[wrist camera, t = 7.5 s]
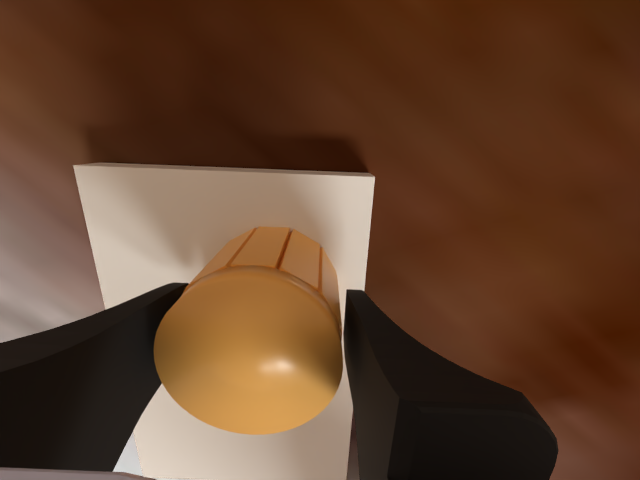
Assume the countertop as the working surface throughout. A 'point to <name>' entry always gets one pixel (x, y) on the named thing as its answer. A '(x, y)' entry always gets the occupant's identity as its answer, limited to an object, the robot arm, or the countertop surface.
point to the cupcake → (255, 335)
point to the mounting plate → (188, 261)
